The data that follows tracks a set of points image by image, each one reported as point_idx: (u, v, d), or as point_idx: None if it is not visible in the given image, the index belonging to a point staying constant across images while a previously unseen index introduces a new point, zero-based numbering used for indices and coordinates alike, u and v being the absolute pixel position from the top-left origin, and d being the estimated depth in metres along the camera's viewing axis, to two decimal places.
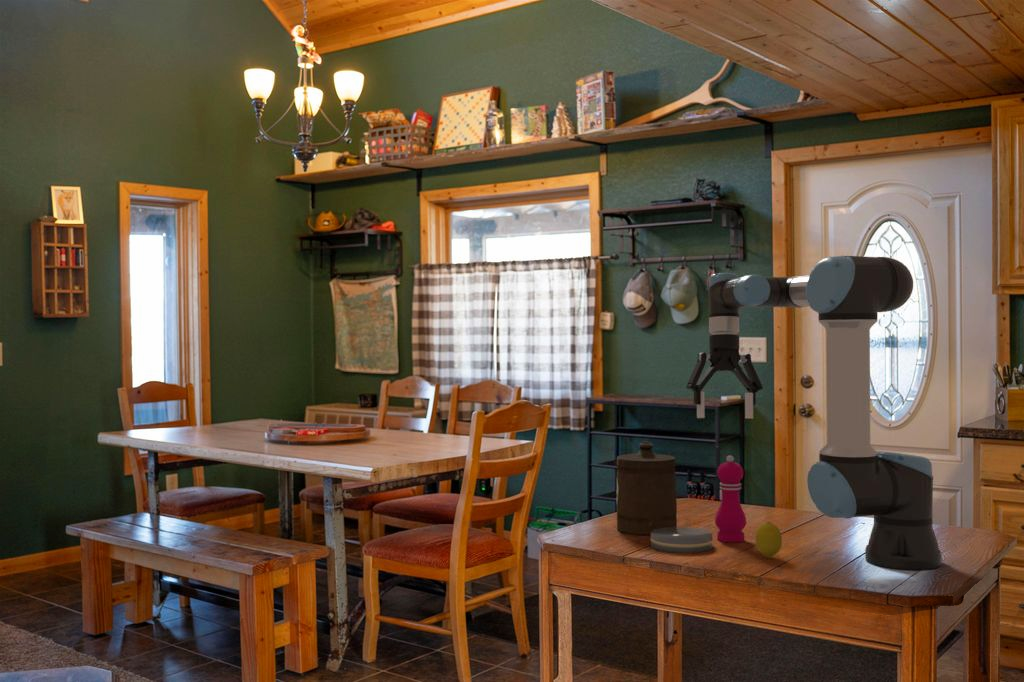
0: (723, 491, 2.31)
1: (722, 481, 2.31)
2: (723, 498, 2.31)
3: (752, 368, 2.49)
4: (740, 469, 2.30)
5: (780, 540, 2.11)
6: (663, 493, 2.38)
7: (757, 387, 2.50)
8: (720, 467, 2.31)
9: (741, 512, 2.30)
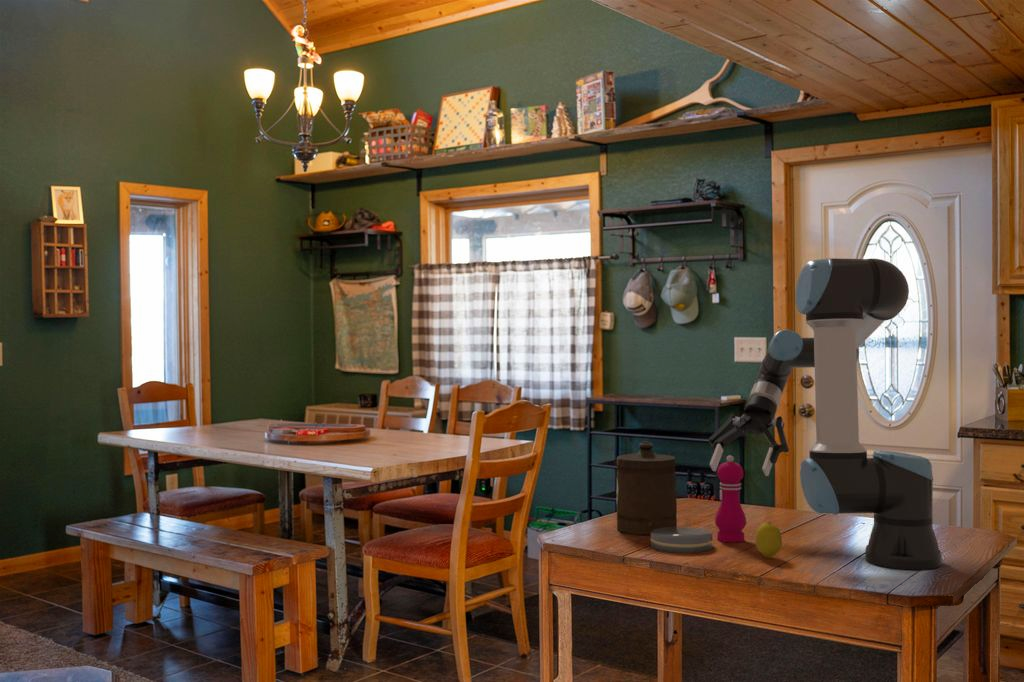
0: (723, 491, 2.31)
1: (722, 481, 2.31)
2: (723, 498, 2.31)
3: (779, 428, 2.39)
4: (740, 469, 2.30)
5: (780, 540, 2.11)
6: (663, 493, 2.38)
7: (781, 444, 2.36)
8: (720, 467, 2.31)
9: (741, 512, 2.30)
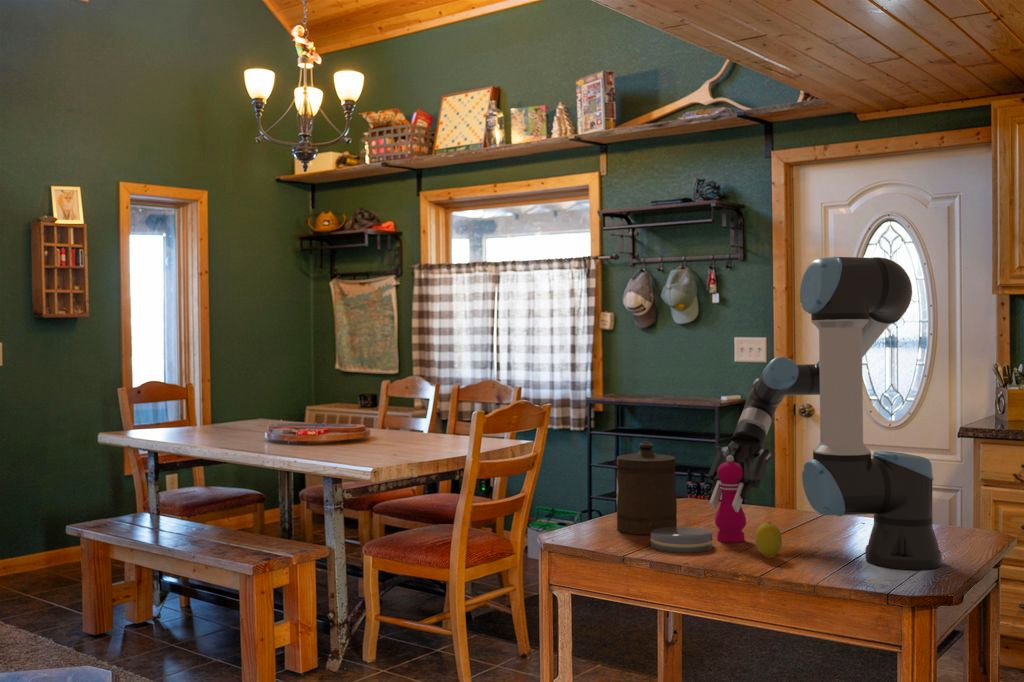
0: (723, 491, 2.31)
1: (722, 481, 2.31)
2: (723, 498, 2.31)
3: (760, 461, 2.32)
4: (740, 469, 2.30)
5: (780, 540, 2.11)
6: (663, 493, 2.38)
7: (751, 479, 2.30)
8: (720, 467, 2.31)
9: (741, 512, 2.30)
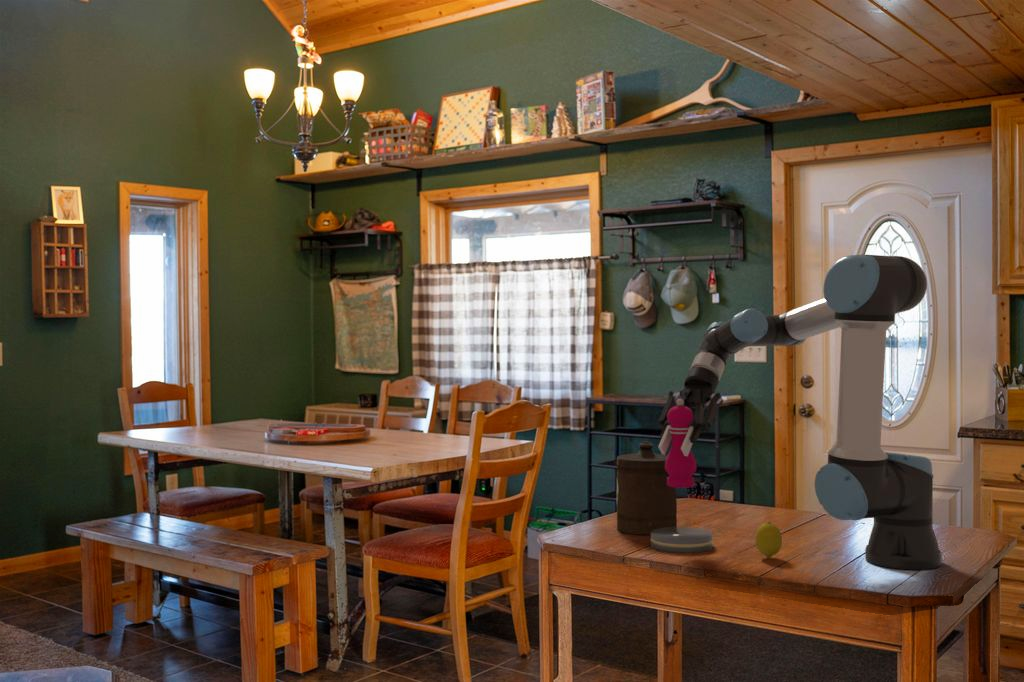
0: (673, 435, 2.25)
1: (672, 425, 2.25)
2: (673, 442, 2.25)
3: (711, 405, 2.26)
4: (690, 412, 2.24)
5: (780, 540, 2.11)
6: (663, 493, 2.38)
7: (701, 423, 2.24)
8: (670, 411, 2.25)
9: (691, 457, 2.24)
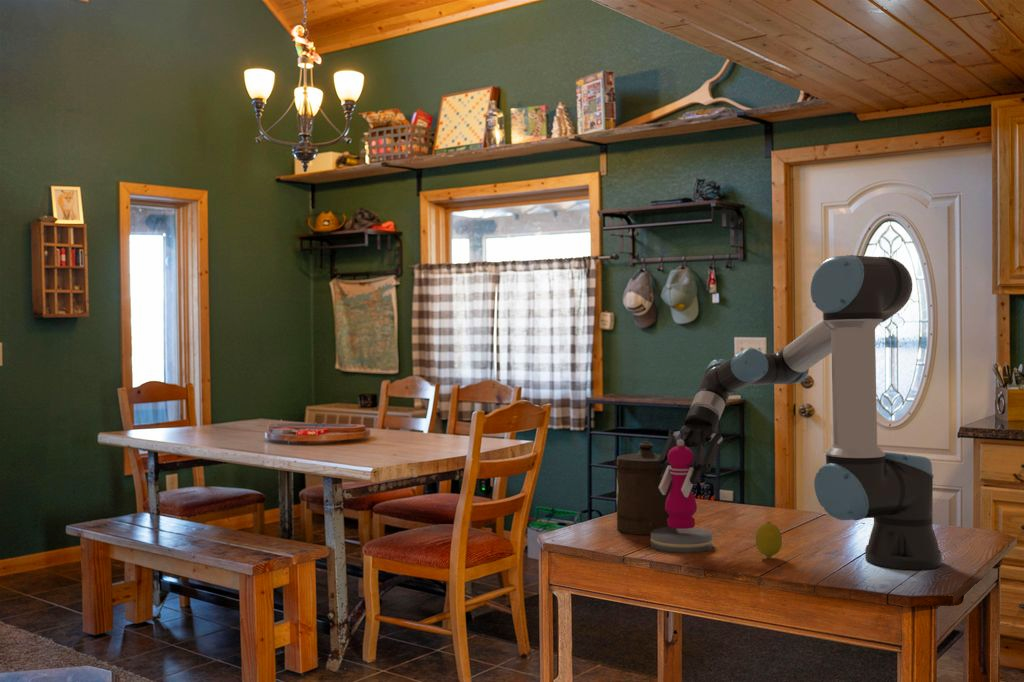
0: (673, 476, 2.25)
1: (672, 466, 2.25)
2: (673, 483, 2.25)
3: (711, 445, 2.26)
4: (690, 453, 2.24)
5: (780, 540, 2.11)
6: None
7: (701, 464, 2.24)
8: (670, 451, 2.25)
9: (691, 497, 2.24)
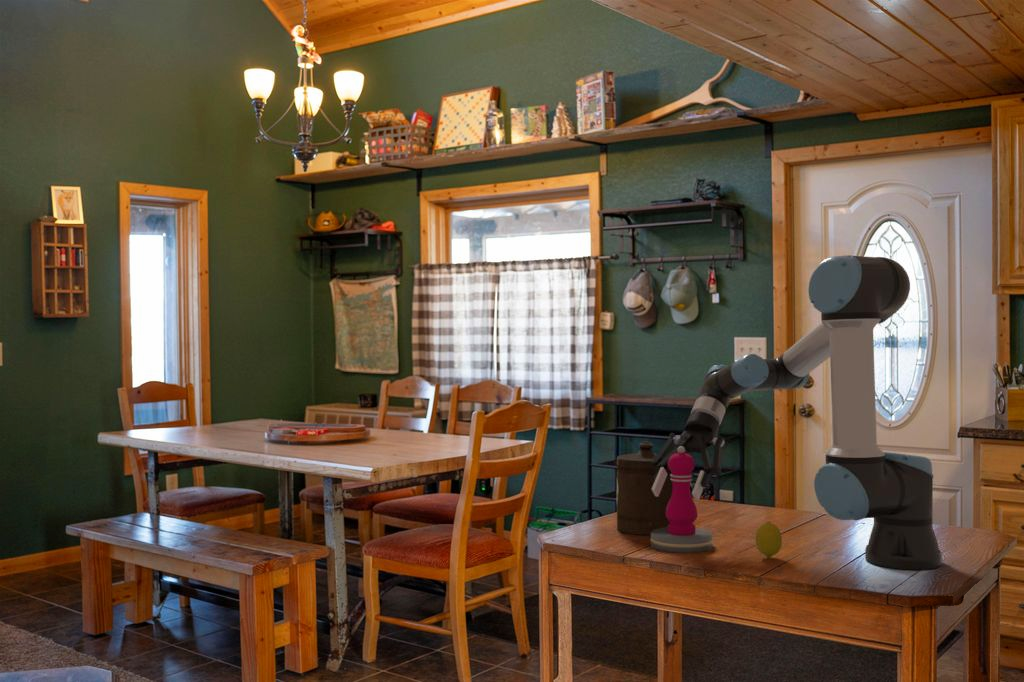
0: (674, 483, 2.25)
1: (673, 472, 2.25)
2: (674, 490, 2.25)
3: (717, 449, 2.26)
4: (691, 460, 2.24)
5: (780, 540, 2.11)
6: (663, 493, 2.38)
7: (712, 467, 2.23)
8: (671, 458, 2.25)
9: (692, 504, 2.24)
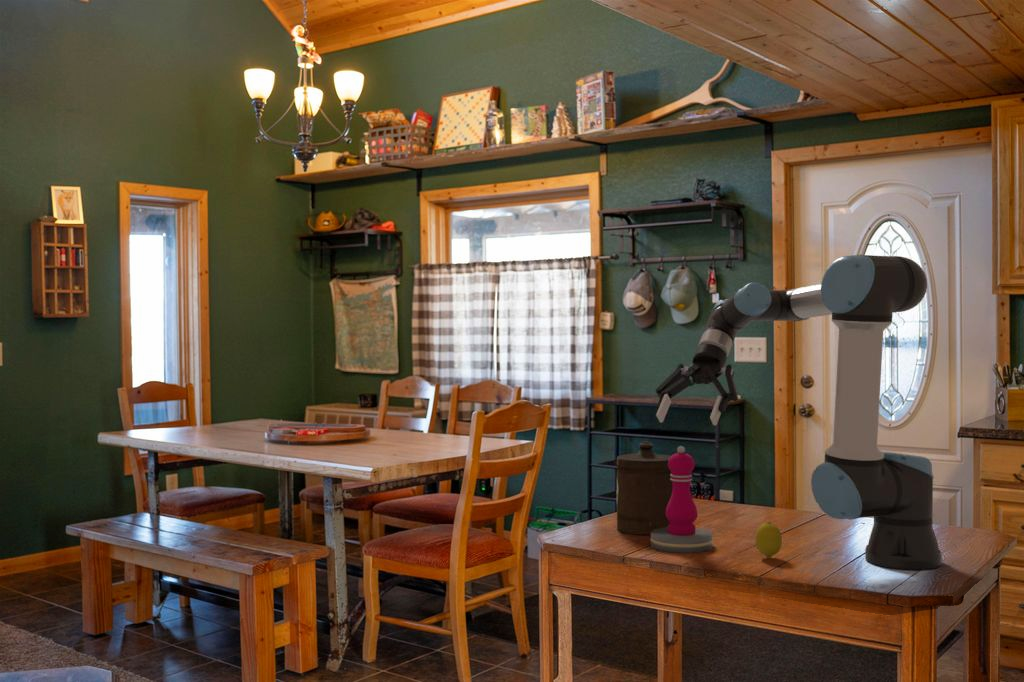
0: (674, 483, 2.25)
1: (673, 472, 2.25)
2: (674, 490, 2.25)
3: (729, 376, 2.28)
4: (691, 460, 2.24)
5: (780, 540, 2.11)
6: (663, 493, 2.38)
7: (729, 393, 2.25)
8: (671, 458, 2.25)
9: (692, 504, 2.24)
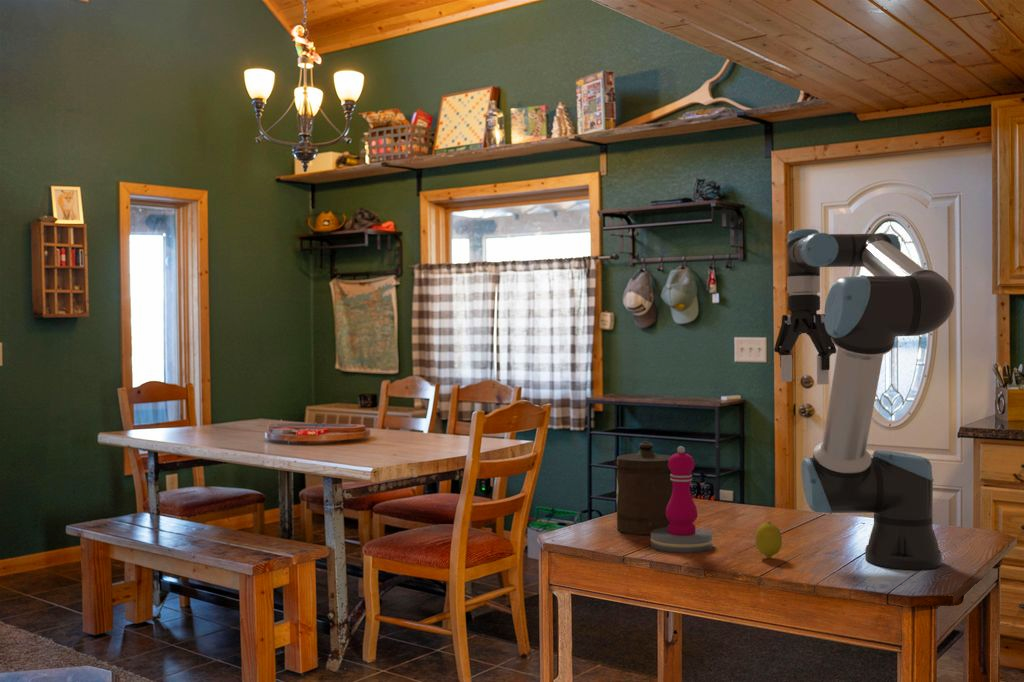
0: (674, 483, 2.25)
1: (673, 472, 2.25)
2: (674, 490, 2.25)
3: (819, 330, 2.28)
4: (691, 460, 2.24)
5: (780, 540, 2.11)
6: (663, 493, 2.38)
7: None
8: (670, 458, 2.25)
9: (692, 504, 2.24)
